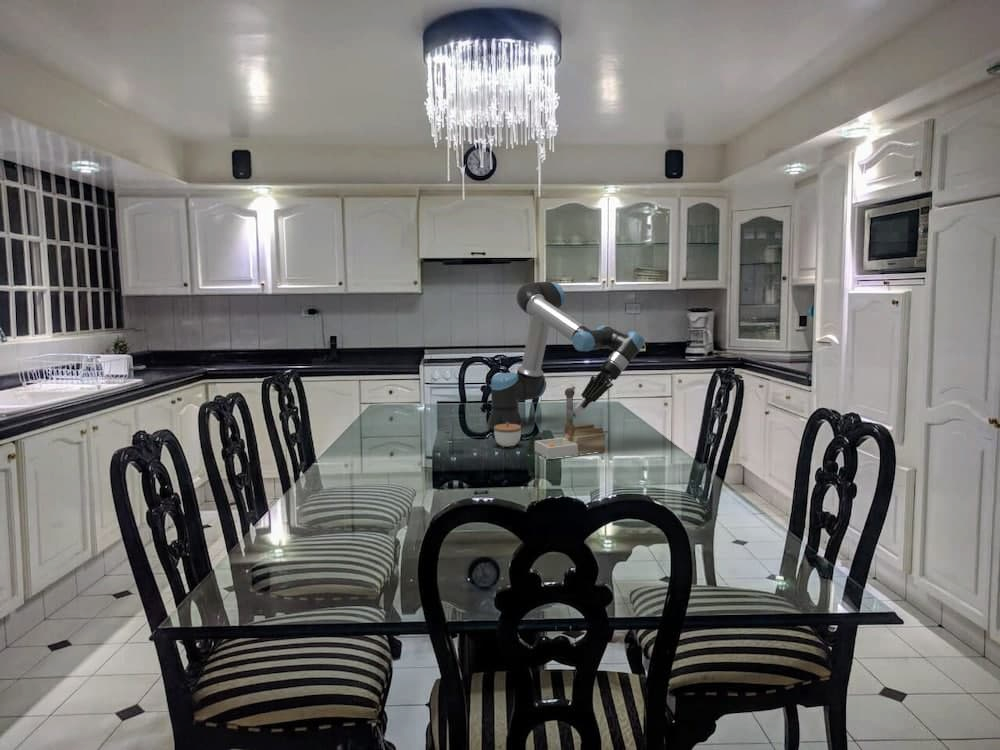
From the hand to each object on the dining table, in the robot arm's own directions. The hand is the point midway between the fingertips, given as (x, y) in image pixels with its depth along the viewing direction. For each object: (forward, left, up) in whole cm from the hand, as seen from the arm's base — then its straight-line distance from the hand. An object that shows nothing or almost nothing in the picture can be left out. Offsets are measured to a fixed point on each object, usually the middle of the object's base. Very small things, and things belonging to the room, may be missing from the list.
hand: (575, 413), depth 274 cm
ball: (0, -11, -12) cm, 17 cm away
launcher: (0, +4, -15) cm, 15 cm away
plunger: (0, -2, -8) cm, 8 cm away
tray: (0, -8, -15) cm, 17 cm away
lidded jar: (-20, -19, -15) cm, 32 cm away
